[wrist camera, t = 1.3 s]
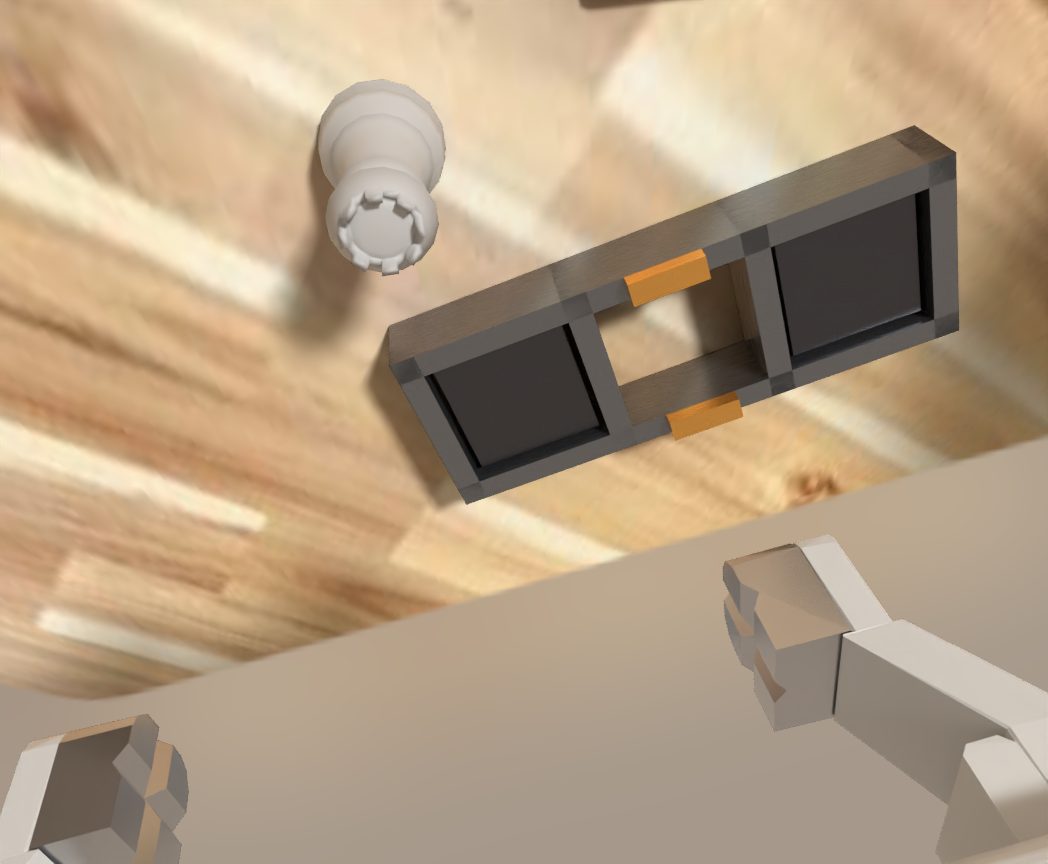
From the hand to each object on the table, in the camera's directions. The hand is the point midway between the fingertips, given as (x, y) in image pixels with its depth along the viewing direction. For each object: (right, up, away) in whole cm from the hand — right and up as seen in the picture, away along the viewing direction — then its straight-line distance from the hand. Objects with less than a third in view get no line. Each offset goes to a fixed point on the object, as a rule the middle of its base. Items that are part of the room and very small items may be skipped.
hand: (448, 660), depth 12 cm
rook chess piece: (-4, +14, +19) cm, 24 cm away
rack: (+7, +8, +24) cm, 27 cm away
